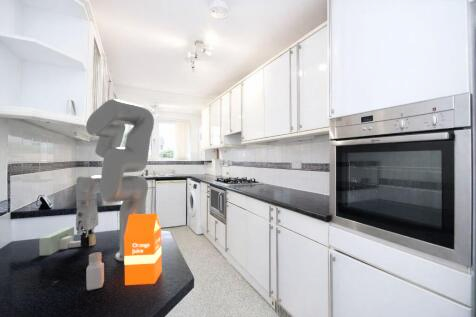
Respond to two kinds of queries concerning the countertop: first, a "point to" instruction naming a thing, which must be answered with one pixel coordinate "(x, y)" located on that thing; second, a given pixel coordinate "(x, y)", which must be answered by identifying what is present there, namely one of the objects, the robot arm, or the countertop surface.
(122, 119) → the robot arm
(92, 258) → the salt shaker
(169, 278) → the countertop surface
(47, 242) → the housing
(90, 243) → the plug
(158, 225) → the orange juice
